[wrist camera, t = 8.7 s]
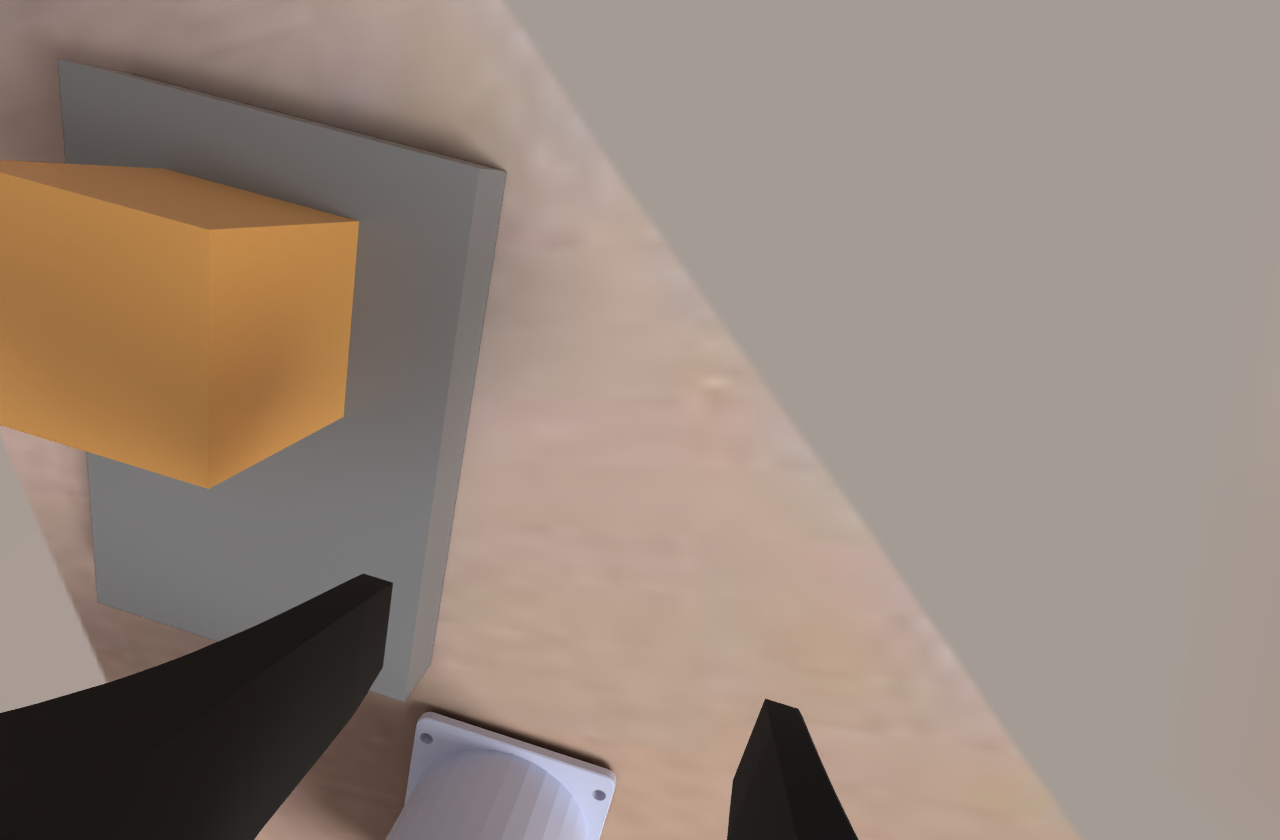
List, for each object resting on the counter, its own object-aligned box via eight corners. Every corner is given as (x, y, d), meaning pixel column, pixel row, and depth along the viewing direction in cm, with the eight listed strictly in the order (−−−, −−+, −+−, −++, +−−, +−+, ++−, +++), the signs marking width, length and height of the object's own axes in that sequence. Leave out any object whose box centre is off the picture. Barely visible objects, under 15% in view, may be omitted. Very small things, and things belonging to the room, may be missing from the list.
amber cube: (343, 417, 20) (208, 489, 15) (168, 365, 20) (-19, 419, 15) (359, 221, 18) (208, 229, 13) (163, 168, 18) (-55, 157, 13)
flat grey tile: (430, 664, 25) (351, 778, 20) (145, 572, 26) (3, 660, 21) (506, 171, 18) (418, 161, 14) (125, 72, 19) (-86, 29, 14)
